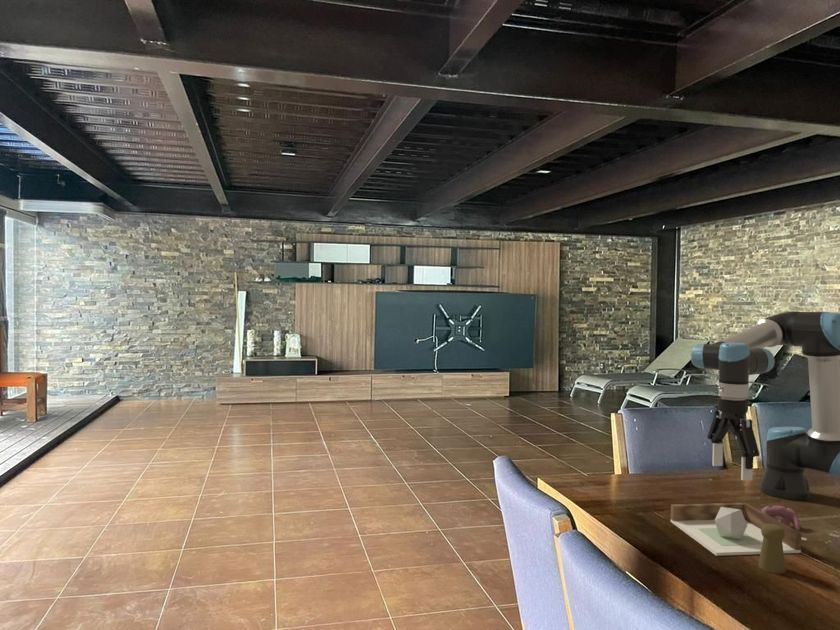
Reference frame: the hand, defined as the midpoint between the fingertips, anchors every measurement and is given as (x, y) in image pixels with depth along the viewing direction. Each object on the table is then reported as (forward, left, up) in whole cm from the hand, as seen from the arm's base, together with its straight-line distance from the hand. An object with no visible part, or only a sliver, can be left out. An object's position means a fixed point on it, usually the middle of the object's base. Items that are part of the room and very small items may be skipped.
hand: (731, 472), depth 171 cm
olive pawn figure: (0, +18, -19) cm, 26 cm away
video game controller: (-21, -8, -19) cm, 30 cm away
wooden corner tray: (-2, -2, -19) cm, 19 cm away
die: (0, 0, -18) cm, 18 cm away
